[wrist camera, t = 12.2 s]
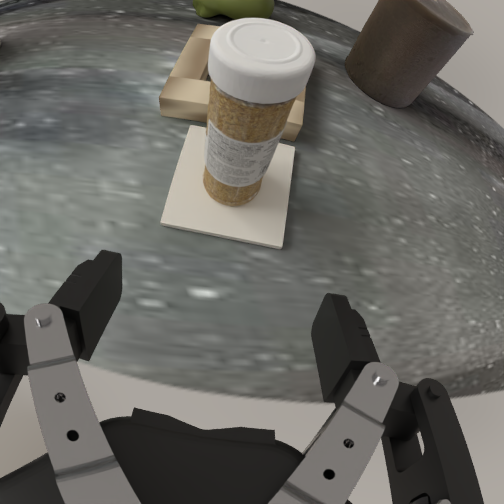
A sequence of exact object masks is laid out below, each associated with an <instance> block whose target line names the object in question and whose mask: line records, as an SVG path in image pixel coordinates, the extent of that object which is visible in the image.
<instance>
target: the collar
mask: <svg viewBox="0 0 504 504" xmlns="http://www.w3.org/2000/svg"><path fill="white" fill-rule="evenodd" d="M218 28H219V27H218V26H211V25H203V24H198V25H197V26H196V28H195V30H194V31H193V33H192V35H191V37H190V38H189V40H188V42H187V44H186V45H185V47H184V49H183V51H182V53H181V55H180V56H179V58H178V60H177V62H176V64H175V66H174V68H173V70H172V72H171V74H170V76H169V78H168V80H167V82H166V84H165V86H164V88H163V90H162V92H161V94H160V96H159V102H160V110H161V116H167V117H174V118H181V119H187V120H193V121H199V122H205V123H207V116H208V103H209V94H210V82H209V81H206V79H207V76H208V74H209V71H208V58H209V49H210V42H211V38H212V36H213V34H214V32H215V31H216V30H217V29H218ZM305 91H306V86H305V88H304V90H303V91H302V92H301V93H300V94H299V95H298V96H297V97H296V100H295V102H294V104H293V106H292V109H291V111H290V114H289V116H288V119H287V123H286V127H285V129H284V131H283V134H282V136H281V139H285V140H289V141H293V142H294V141H295V139H296V137H297V135H298V133H299V131H300V129H301V127H302V123H303V113H304V102H305Z"/></svg>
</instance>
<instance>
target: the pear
mask: <svg viewBox="0 0 504 504" xmlns="http://www.w3.org/2000/svg"><path fill="white" fill-rule="evenodd" d="M193 6H194V8H195V10H196V14H197V15H198V16H200V17H204V18H208V17H212V16H215V15H218V14H223V15H226V16H228V17H230V18H232V19H234V20H237V19H243V18H264V19H268V18H269V17H270V16H271V14H272V12H273V9H274V1H273V0H193Z"/></svg>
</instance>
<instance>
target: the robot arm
mask: <svg viewBox="0 0 504 504" xmlns="http://www.w3.org/2000/svg"><path fill="white" fill-rule="evenodd" d="M0 47H1V40H0ZM121 294H122V256H121V254H120V253H116V252H111V251H106V250H101V251H100V253H99V254H98V255H97V256H96V258H95V259H94V260H93V261H92V260H87V261H85V262H83V263H81V264H80V265H78V266H77V267H76V268H75V270H74V271H73V272H72V273H71V275H70V276H69V277H68V278H67V280H66V282H64V283H63V285H62V286H61V287H60V288H59V290H58V291H57V292H56V294H55V295H54V296H53V298H52V299H51V300H50V302H49V303H48V304H39V305H36V306H34V307H32V308H31V309H29V310H28V311H27V313H26V314H25V315H13V314H6V311H5V308H4V306H3V305H2V303H0V426H1V424H2V422H3V419H4V417H5V414H6V412H7V409H8V407H9V405H10V403H11V401H12V398H13V396H14V394H15V392H16V390H17V387H18V385H19V383H20V381H21V379H22V377H23V375H28V376H29V382H30V387H31V391H32V396H33V400H34V405H35V409H36V413H37V417H38V421H39V424H40V428H41V431H42V435H43V438H44V441H45V445H46V448H47V451H48V453H46V454H44V455H42V456H41V457H39V458H37V459H35V460H33V461H32V462H30V463H28V464H26V465H24V466H23V467H21V468H19V469H17V470H15V471H13V472H11V473H9V474H8V475H6V476H4V477H2V478H0V504H352V503H351V502H350V501H349V500H348V497H349V496H350V494H351V492H352V490H353V489H354V487H355V486H356V484H357V482H358V480H359V479H360V477H361V475H362V473H363V471H364V470H365V468H366V466H367V464H368V462H369V460H370V458H371V456H372V454H373V452H374V450H375V448H376V446H377V444H378V442H379V440H380V438H381V440H382V444H383V450H384V455H385V460H386V466H387V471H388V477H389V483H390V489H391V495H392V502H393V504H484V502H483V498H482V494H481V490H480V487H479V483H478V479H477V476H476V473H475V469H474V466H473V463H472V460H471V456H470V453H469V450H468V447H467V444H466V441H465V438H464V435H463V432H462V430H461V427H460V424H459V421H458V419H457V416H456V413H455V411H454V408H453V406H452V403H451V401H450V398H449V396H448V393H447V391H446V389H445V388H444V387H443V385H442V384H441V383H439V382H438V381H436V380H434V379H430V378H425V379H423V380H421V381H420V382H419V384H418V385H417V386H412V385H409V384H406V383H402V382H399V380H398V377H397V375H396V373H395V372H394V371H393V370H392V369H391V368H390V367H389V366H387V365H385V364H383V363H381V362H380V360H379V357H378V355H377V352H376V349H375V347H374V344H373V342H372V339H371V338H370V334H369V332H368V330H367V327H366V324H365V322H364V319H363V318H362V317H361V316H360V314H359V313H358V312H357V311H356V310H353V309H351V307H350V304H349V302H348V299H347V297H346V296H344V295H338V294H331V293H327V294H326V295H325V297H324V299H323V301H322V304H321V306H320V308H319V311H318V313H317V315H316V318H315V320H314V322H313V325H312V331H311V337H312V342H313V347H314V352H315V357H316V362H317V367H318V373H319V378H320V383H321V389H322V394H323V400H324V402H331V403H335V406H336V408H335V409H334V411H333V412H332V413H331V415H330V416H329V418H328V419H327V421H326V422H325V424H324V425H323V426H322V428H321V429H320V430H319V432H318V433H317V435H316V436H315V437H314V439H313V440H312V441H311V443H310V444H309V445H308V446H307V448H306V449H305V450H304V451H303V453H301V452H299V451H298V450H297V449H295V448H293V447H292V446H289V445H288V444H286V443H283V442H281V441H278V440H275V430H266V429H255V428H245V427H235V428H225V429H212V430H203V429H199V428H197V427H194V426H192V425H189V424H187V423H185V422H182V421H180V420H177V419H175V418H173V417H171V416H168V415H164V414H159V413H155V412H150V411H146V410H142V409H138V408H134V409H133V413H132V416H131V417H130V416H126V417H116V418H111V419H107V420H104V421H102V422H99V421H98V419H97V417H96V415H95V412H94V409H93V407H92V404H91V401H90V399H89V396H88V394H87V391H86V388H85V385H84V383H83V380H82V377H81V374H80V371H79V368H78V365H77V361H78V359H79V358H80V359H83V360H86V361H89V360H90V358H91V356H92V354H93V352H94V350H95V348H96V346H97V344H98V342H99V340H100V338H101V336H102V334H103V332H104V330H105V328H106V326H107V324H108V322H109V320H110V318H111V316H112V314H113V312H114V310H115V308H116V306H117V305H118V303H119V301H120V298H121ZM419 431H420V432H421V436H422V439H423V443H424V454H423V456H422V452H421V448H420V444H419V440H418V437H417V433H418V432H419Z"/></svg>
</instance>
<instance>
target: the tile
mask: <svg viewBox="0 0 504 504" xmlns="http://www.w3.org/2000/svg"><path fill="white" fill-rule="evenodd" d="M205 131H206V128H205V127H200V126H194V125H190V128H189V131H188V134H187V137H186V140H185V143H184V146H183V149H182V152H181V155H180V158H179V161H178V164H177V167H176V171H175V174H174V177H173V180H172V184H171V187H170V190H169V194H168V197H167V201H166V204H165V208H164V211H163V215H162V219H161V222H160V223H161V225H162V226H167V227H172V228H177V229H182V230H187V231H192V232H197V233H202V234H207V235H212V236H217V237H222V238H227V239H232V240H237V241H242V242H247V243H251V244H256V245H261V246H266V247H271V248H276V249H281V248H282V245H283V238H284V231H285V223H286V216H287V208H288V200H289V192H290V184H291V176H292V168H293V160H294V151H295V147H293V146H289V145H285V144H281V143H278V145H277V148H276V150H275V153H274V155H273V158H272V160H271V162H270V165H269V167H268V169H267V172H266V173H265V175H264V176H263V178H262V183H261V188H260V190H259V192H258V194H257V195H256V196H255V197H254V199H253V200H251V201H250V202H248V203H246V204H243V205H239V206H227V205H223V204H221V203H218V202H217V201H215V200H214V199H212V198H211V197H210V196H209V194H208V193H207V191H206V190H205V187H204V184H203V172H204V169H205V161H204V150H205Z"/></svg>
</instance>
